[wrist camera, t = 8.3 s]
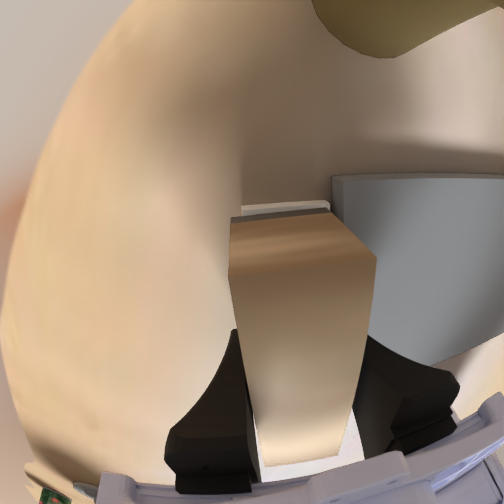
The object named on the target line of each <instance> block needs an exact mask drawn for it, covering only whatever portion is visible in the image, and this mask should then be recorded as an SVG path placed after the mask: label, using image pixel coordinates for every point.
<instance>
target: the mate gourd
mask: <svg viewBox="0 0 504 504" xmlns="http://www.w3.org/2000/svg"><path fill="white" fill-rule="evenodd" d="M73 488H74V489H75V490H77V491H78V492H80V493H81V494H83V495H85V496H87V497H89V498H91V499H93V500H94V502H95V504H96V499H97V494H98V488H99V487H98V486H95V485H91V484H87V483H82V482H74V483H73Z"/></svg>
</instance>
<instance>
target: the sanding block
mask: <svg viewBox="0 0 504 504" xmlns="http://www.w3.org/2000/svg"><path fill="white" fill-rule="evenodd" d="M376 265H377V257H376V256H375V255H374V254H373V253H372V252H371V251H370V250H369V249H368V248H367V247H366V246H365V245H364V244H363V243H362V242H361V241H360V240H359V239H358V238H357V237H356V236H355V235H354V234H353V233H352V232H351V231H350V230H349V229H348V228H347V227H346V226H345V225H344V224H343V223H342V222H341V221H340V220H339V219H338V218H337V217H336V216H335V215H334V214H333V213H332V212H331V211H329V210H328V209H327V208H326V207H323V208H312V209H302V210H293V211H283V212H274V213H265V214H256V215H248V216H239V217H231V226H230V247H229V270H228V279H229V285H230V291H231V296H232V302H233V308H234V314H235V319H236V325H237V331H238V336H239V342H240V347H241V352H242V358H243V363H244V368H245V374H246V379H247V384H248V389H249V394H250V399H251V404H252V409H253V414H254V419H255V424H256V429H257V434H258V438H259V443H260V448H261V452H262V457H263V461H264V466H265V467H271V466H279V465H287V464H294V463H300V462H306V461H312V460H317V459H322V458H327V457H332V456H336V455H338V453H339V450H340V447H341V443H342V440H343V437H344V434H345V430H346V427H347V423H348V420H349V416H350V412H351V408H352V405H353V401H354V397H355V392H356V388H357V384H358V379H359V375H360V370H361V366H362V361H363V356H364V350H365V345H366V339H367V334H368V328H369V321H370V315H371V308H372V301H373V293H374V284H375V275H376Z"/></svg>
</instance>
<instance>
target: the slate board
mask: <svg viewBox="0 0 504 504" xmlns="http://www.w3.org/2000/svg"><path fill="white" fill-rule="evenodd" d="M332 202H333V214H334V215H335V216H336V217H337V218H338V219H339V220H340V221H341V222H342V223H343V224H344V225H345V226H346V227H347V228H348V229H349V230H350V231H351V232H352V233H353V234H354V235H355V236H356V237H357V238H358V239H359V240H360V241H361V242H362V243H363V244H364V245H365V246H366V247H367V248H368V249H369V250H370V251H371V252H372V253H373V254H374V255H375V256H376V257H377V265H376V275H375V284H374V293H373V301H372V308H371V315H370V321H369V328H368V335H369V336H371V337H372V338H373V339H375V340H376V341H378V342H379V343H381V344H382V345H384V346H385V347H387V348H389V349H390V350H392V351H394V352H396V353H398V354H399V355H402V356H404V357H406V358H408V359H410V360H413V361H415V362H418V363H420V364H423V365H426V366H431V365H434V364H436V363H439V362H441V361H444V360H446V359H449V358H451V357H453V356H456V355H458V354H460V353H463V352H465V351H467V350H469V349H471V348H474V347H476V346H478V345H480V344H482V343H484V342H486V341H488V340H490V339H492V338H494V337H496V336H498V335H500V334H502V333H503V332H504V175H499V174H479V173H377V174H355V175H337V176H332Z"/></svg>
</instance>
